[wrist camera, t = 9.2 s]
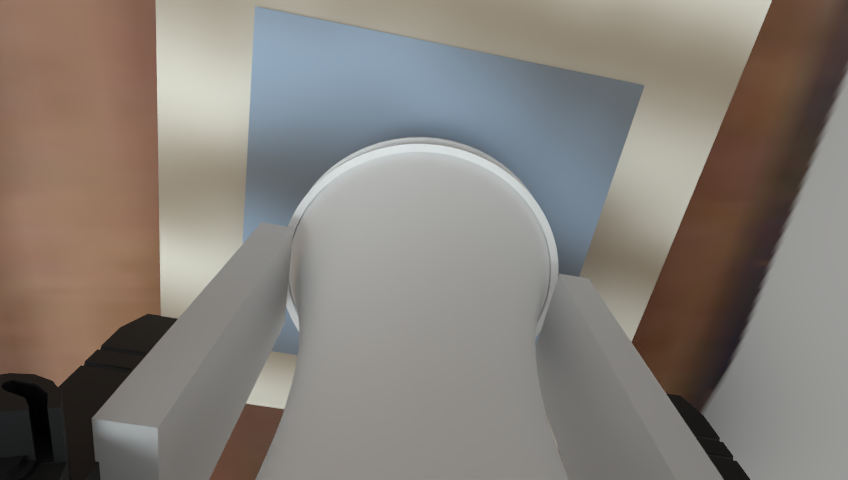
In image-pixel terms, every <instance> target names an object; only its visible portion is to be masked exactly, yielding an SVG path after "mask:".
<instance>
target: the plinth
mask: <svg viewBox="0 0 848 480" xmlns="http://www.w3.org/2000/svg"><path fill="white" fill-rule="evenodd" d="M771 2H772V0H156V44H157V105H158V166H159V227H160V288H161V316H164V317H171V318H177V319H178V318H179V317H180V316H181V315H182V314H183V313H184V311H185V310H186V309H187V308H188V307H189V306H190V304H191V303H192V302H193V301H194V300H195V299H196V298H197V296H198V295H199V294H200V293H201V292H202V291H203V289H204V288H205V287H206V286H207V285H208V284H209V283H210V281H211V280H212V279H213V278H214V277H215V276H216V274H217V273H218V272H219V271H220V270H221V269H222V268H223V266H224V265H225V264H226V263H227V262H228V261H229V259H230V258H231V257H232V256H233V255H234V254H235V253H236V251H237V250H238V249H239V248H240V247H241V246H242V244H243V243H244V242H245V241H246V240H247V239H248V238H249V236H250V235H251V234H252V233H253V232H254V231H255V229H256V228H257V227H258V226H259V225H260V224H261V223H262V222H264V223H270V224H275V225H281V226H287V227H288V225H289V222H290V220H291V218H292V216H293V214H294V212H295V210H296V209H297V207H298V206H299V204H300V203H301V201H302V200H303V198H304V197H305V196H306V195H307V193H308V192H309V191H310V189H311V188H312V187H313V185H314V184H315V183H316V182H317V181H318V180H319V179H320V177H321V176H322V175H323V174H324V173H326V172H327V171H328V170H329V169H330V168H331V167H332V166H334V165H335V164H336V163H338V162H339V161H341V160H342V159H344V158H345V157H347V156H349V155H350V154H352V153H354V152H356V151H358V150H360V149H363V148H365V147H367V146H370V145H373V144H376V143H379V142H383V141H387V140H392V139H398V138H406V137H431V138H440V139H445V140H451V141H455V142H458V143H462V144H465V145H468V146H470V147H473V148H475V149H478V150H480V151H482V152H484V153H486V154H487V155H489V156H491V157H493V158H494V159H496V160H497V161H499V162H500V163H502V164H503V165H504V166H505V167H507V168H508V169H509V170H510V171H512V172H513V173H514V174H515V175H516V176H517V177H518V178H519V179H520V180H521V182H522V183H523V184H524V185H525V186H526V188H527V189H528V190H529V192H530V193H531V195H532V196H533V198H534V199H535V201H536V202H537V203H538V205H539V206H540V208H541V210H542V211H543V213H544V215H545V217H546V219H547V221H548V223H549V225H550V228H551V230H552V233H553V236H554V240H555V244H556V248H557V254H558V277H559V274H565V275H571V276H576V277H582V278H588V279H589V280H590V281H591V283H592V284H593V286H594V287H595V289H596V290H597V292H598V293H599V295H600V296H601V298H602V299H603V301H604V302H605V304H606V305H607V307H608V308H609V310H610V311H611V313H612V314H613V316H614V317H615V319H616V320H617V322H618V323H619V325H620V326H621V328H622V329H623V330H624V332H625V333H626V335H627V336H628V338H629V339H630V341H631V342H632V340H633V337H634V335H635V333H636V330H637V328H638V325H639V323H640V320H641V318H642V316H643V313H644V311H645V308H646V306H647V303H648V301H649V298H650V296H651V294H652V291H653V289H654V286H655V284H656V281H657V279H658V277H659V274H660V272H661V269H662V267H663V264H664V262H665V260H666V257H667V255H668V252H669V250H670V247H671V245H672V243H673V240H674V238H675V235H676V233H677V230H678V228H679V225H680V223H681V221H682V218H683V216H684V213H685V211H686V208H687V206H688V204H689V201H690V199H691V196H692V194H693V191H694V189H695V187H696V184H697V182H698V179H699V177H700V174H701V172H702V170H703V167H704V165H705V162H706V160H707V157H708V155H709V152H710V150H711V148H712V145H713V143H714V140H715V138H716V135H717V133H718V131H719V128H720V126H721V123H722V121H723V118H724V116H725V114H726V111H727V109H728V106H729V104H730V101H731V99H732V97H733V94H734V92H735V89H736V87H737V84H738V82H739V79H740V77H741V75H742V72H743V70H744V67H745V65H746V62H747V60H748V58H749V55H750V53H751V50H752V48H753V45H754V43H755V41H756V38H757V36H758V33H759V31H760V28H761V26H762V24H763V21H764V19H765V16H766V14H767V11H768V9H769V6H770V4H771ZM548 287H549V286H548ZM547 292H548V291H547ZM291 294H292V293H291ZM545 300H546V299H545ZM544 303H545V302H544ZM294 304H295V303H294ZM543 306H544V305H543ZM541 311H542V310H541ZM540 332H541V331H540ZM540 332H539V334H538V335H537V337H536V341H535V347H536V344H537V341H538V338H539V335H540ZM298 349H299V331H298V329H297V328H296V326H295V324H294V323H293V321H292V319H291V317H290V314H289V312H288V310H287V307H286V313H285V323H284V326H283V328H282V330H281V332H280V334H279V336H278V338H277V340H276V342H275V344H274V346H273V348H272V350H271V352H270V354H269V357H268V359H267V361H266V363H265V365H264V367H263V369H262V371H261V373H260V375H259V377H258V379H257V381H256V383H255V385H254V388H253V390H252V392H251V394H250V396H249V398H248V400H247V402H246V404H253V405H260V406H267V407H273V408H280V409H285V405H286V402H287V399H288V396H289V392H290V389H291V385H292V381H293V377H294V373H295V368H296V362H297V356H298ZM544 407H545V406H544ZM545 411H546V409H545ZM546 414H547V412H546ZM547 418H548V415H547ZM548 422H549V425H550V428H551V432H552V435H553V438H554V441H555V444H556V446H557V443H556V440H555V437H554V434H553V431H552V427H551V424H550V421H549V418H548ZM557 449H558V446H557Z"/></svg>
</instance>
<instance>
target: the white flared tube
mask: <svg viewBox="0 0 848 480" xmlns="http://www.w3.org/2000/svg"><path fill="white" fill-rule="evenodd" d="M288 227H293V238H292V249H291V260H290V270H289V281H288V292H287V302H286V307H287V310H288V312H289V314H290V317H291V319H292V321H293V323H294V324H295V326H296V328H297V329H298V331H299V349H298V356H297V362H296V368H295V373H294V377H293V381H292V385H291V389H290V392H289V396H288V399H287V402H286V405H285V409H284V412H283V415H282V418H281V420H280V423H279V426H278V428H277V431H276V434H275V436H274V438H273V441H272V443H271V445H270V448H269V450H268V452H267V455H266V457H265V459H264V462H263V464H262V466H261V468H260V471H259V473H258V475H257V477H256V479H255V480H569V479H568V476H567V473H566V471H565V468H564V465H563V463H562V460H561V457H560V455H559V452H558V449H557V446H556V444H555V441H554V438H553V435H552V432H551V428H550V425H549V422H548V418H547V414H546V411H545V407H544V403H543V399H542V395H541V390H540V385H539V379H538V372H537V364H536V352H535V341H536V337H537V335H538V334H539V332H540V331H541V329H542V326H543V323H544V320H545V316H546V313H547V310H548V307H549V304H550V301H551V298H552V295H553V292H554V289H555V286H556V283H557V280H558V254H557V248H556V244H555V240H554V236H553V233H552V230H551V228H550V225H549V223H548V221H547V219H546V217H545V215H544V213H543V211H542V210H541V208H540V206H539V205H538V203H537V202H536V201H535V199H534V198H533V196H532V195H531V193H530V192H529V190H528V189H527V188H526V186H525V185H524V184H523V183H522V182H521V180H520V179H519V178H518V177H517V176H516V175H515V174H514V173H513V172H512V171H510V170H509V169H508V168H507V167H505V166H504V165H503V164H502V163H500V162H499V161H497V160H496V159H494V158H493V157H491V156H489V155H487V154H486V153H484V152H482V151H480V150H478V149H475V148H473V147H470V146H468V145H465V144H462V143H458V142H455V141H451V140H445V139H440V138H431V137H406V138H398V139H392V140H387V141H383V142H379V143H376V144H373V145H370V146H367V147H365V148H363V149H360V150H358V151H356V152H354V153H352V154H350V155H349V156H347V157H345V158H344V159H342V160H341V161H339V162H338V163H336V164H335V165H334V166H332V167H331V168H330V169H329V170H328V171H327V172H326V173H324V174H323V175H322V176H321V177H320V179H319V180H318V181H317V182H316V183H315V184H314V185H313V187H312V188H311V189H310V191H309V192H308V193H307V195H306V196H305V197H304V198H303V200H302V201H301V203H300V204H299V206H298V207H297V209H296V210H295V212H294V214H293V216H292V218H291V220H290V222H289V225H288ZM548 286H549V287H548ZM547 291H548V292H547ZM291 293H292V294H291ZM545 299H546V300H545ZM544 302H545V303H544ZM294 303H295V304H294ZM543 305H544V306H543ZM541 310H542V311H541Z"/></svg>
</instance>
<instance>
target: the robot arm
mask: <svg viewBox="0 0 848 480" xmlns="http://www.w3.org/2000/svg"><path fill="white" fill-rule="evenodd" d="M292 238H293V227H287V226H281V225H275V224H270V223H264V222H262V223H261V224H260V225H259V226H258V227H257V228H256V229H255V231H254V232H253V233H252V234H251V235H250V236H249V238H248V239H247V240H246V241H245V242H244V243H243V244H242V246H241V247H240V248H239V249H238V250H237V251H236V253H235V254H234V255H233V256H232V257H231V258H230V259H229V261H228V262H227V263H226V264H225V265H224V266H223V268H222V269H221V270H220V271H219V272H218V273H217V274H216V276H215V277H214V278H213V279H212V280H211V281H210V283H209V284H208V285H207V286H206V287H205V288H204V289H203V291H202V292H201V293H200V294H199V295H198V296H197V298H196V299H195V300H194V301H193V302H192V303H191V304H190V306H189V307H188V308H187V309H186V310H185V311H184V313H183V314H182V315H181V316H180V317H179V318H178V319H177V318H171V317H164V316H158V315H152V314H147V315H145V316H143V317H141V318H139V319H137V320H135V321H132V322H130V323H128V324H126V325H124V326H122V327H120V328H119V329H118V330H117V331H116V332H115V333H114V334H113V335H112V336H111V337H110V338H109V339H108V340H107V341H106V342H105V343H104V344H103V345H102V346H101V349H100V350H96V351H95V352H94V353H93V354H92V355H91V356H90V357H89V358H88V359H87V360H86V361H85V364H84V366H80V367H79V368H78V369H77V370H76V371H75V372H74V373H73V374H72V375H71V376H69V377H68V378H67V379H66V380H65V381H64V382H63V383H62V384H61V385H60V386H59V387H57V386H56V385H55V383H54V382H53V381H51V380H48V379H46V378H43V377H40V376H37V375H35V374H16V373H8V374H1V375H0V480H209V479H210V476H211V474H212V472H213V470H214V468H215V466H216V464H217V462H218V460H219V458H220V456H221V454H222V452H223V450H224V448H225V445H226V443H227V441H228V439H229V437H230V435H231V433H232V431H233V429H234V427H235V425H236V423H237V421H238V419H239V417H240V414H241V412H242V410H243V408H244V406H245V404H246V402H247V400H248V398H249V396H250V394H251V392H252V390H253V388H254V385H255V383H256V381H257V379H258V377H259V375H260V373H261V371H262V369H263V367H264V365H265V363H266V361H267V359H268V357H269V354H270V352H271V350H272V348H273V346H274V344H275V342H276V340H277V338H278V336H279V334H280V332H281V330H282V328H283V326H284V323H285V313H286V302H287V292H288V281H289V270H290V260H291V249H292ZM535 352H536V364H537V372H538V379H539V385H540V390H541V395H542V399H543V403H544V406H545V409H546V412H547V415H548V418H549V421H550V424H551V427H552V431H553V434H554V437H555V440H556V443H557V446H558V449H559V452H560V455H561V458H562V462H563V465H564V468H565V471H566V473H567V476H568V479H569V480H750V479H749V477H748V476H747V475H746V473H745V472H744V470H743V469H742V468H741V466H740V465H739V464H738V462H737V461H733V455H732V454H731V453H730V451H729V450H728V449H727V447H726V446H725V444H724V443H723V442H720V441H719V439H720V438H719V437H718V435H717V434H716V432H715V431H714V430H713V428H712V427H711V425H710V424H709V423H708V421H707V420H706V419H705V417H704V416H703V415H702V414H701V413H700V412H698V411H697V410H696V409H695V408H694V407H693V406H691V405H690V404H689V403H688V402H687V401H686V400H684V399H683V398H682V397H681V396H678V395H672V394H666V393H665V391H664V390H663V388H662V387H661V385H660V384H659V382H658V381H657V380H656V378H655V377H654V375H653V374H652V372H651V371H650V369H649V368H648V366H647V365H646V363H645V362H644V360H643V359H642V357H641V356H640V354H639V353H638V351H637V350H636V348H635V347H634V345H633V344H632V342H631V341H630V339H629V338H628V336H627V335H626V333H625V332H624V330H623V329H622V328H621V326H620V325H619V323H618V322H617V320H616V319H615V317H614V316H613V314H612V313H611V311H610V310H609V308H608V307H607V305H606V304H605V302H604V301H603V299H602V298H601V296H600V295H599V293H598V292H597V290H596V289H595V287H594V286H593V284H592V283H591V281H590V280H589V279H588V278H582V277H576V276H571V275H565V274H559V277H558V280H557V283H556V286H555V289H554V292H553V295H552V298H551V301H550V304H549V307H548V310H547V313H546V316H545V320H544V323H543V326H542V329H541V332H540V335H539V338H538V341H537V344H536V347H535Z"/></svg>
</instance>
